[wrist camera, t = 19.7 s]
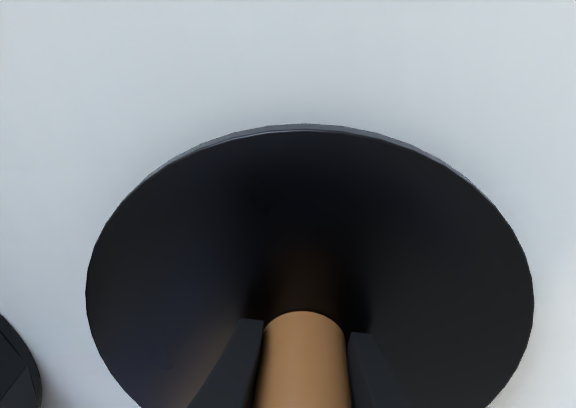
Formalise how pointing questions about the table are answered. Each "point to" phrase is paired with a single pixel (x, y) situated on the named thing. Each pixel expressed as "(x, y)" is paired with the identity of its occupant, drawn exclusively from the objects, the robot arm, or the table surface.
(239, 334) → the robot arm
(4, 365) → the pot
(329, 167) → the pot lid
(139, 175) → the table surface
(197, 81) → the table surface
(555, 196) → the table surface
